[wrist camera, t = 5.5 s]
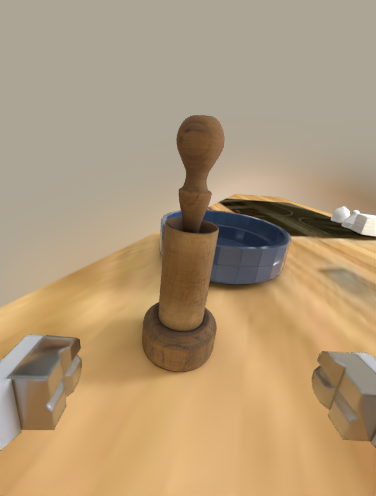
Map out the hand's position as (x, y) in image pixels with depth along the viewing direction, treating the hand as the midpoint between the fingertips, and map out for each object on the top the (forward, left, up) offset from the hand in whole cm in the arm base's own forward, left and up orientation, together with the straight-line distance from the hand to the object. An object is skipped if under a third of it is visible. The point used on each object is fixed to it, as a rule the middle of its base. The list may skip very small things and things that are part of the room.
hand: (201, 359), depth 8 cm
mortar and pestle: (-1, +10, -10) cm, 14 cm away
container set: (+49, +67, -10) cm, 84 cm away
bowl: (+4, +30, -9) cm, 32 cm away
